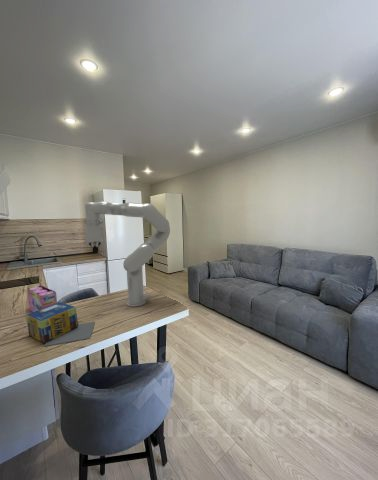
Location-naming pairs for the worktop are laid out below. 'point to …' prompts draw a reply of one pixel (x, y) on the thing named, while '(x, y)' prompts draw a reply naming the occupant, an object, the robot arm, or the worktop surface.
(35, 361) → the worktop surface
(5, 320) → the worktop surface
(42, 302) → the gum box
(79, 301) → the worktop surface
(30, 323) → the protein box
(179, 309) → the worktop surface
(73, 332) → the rubber mat
